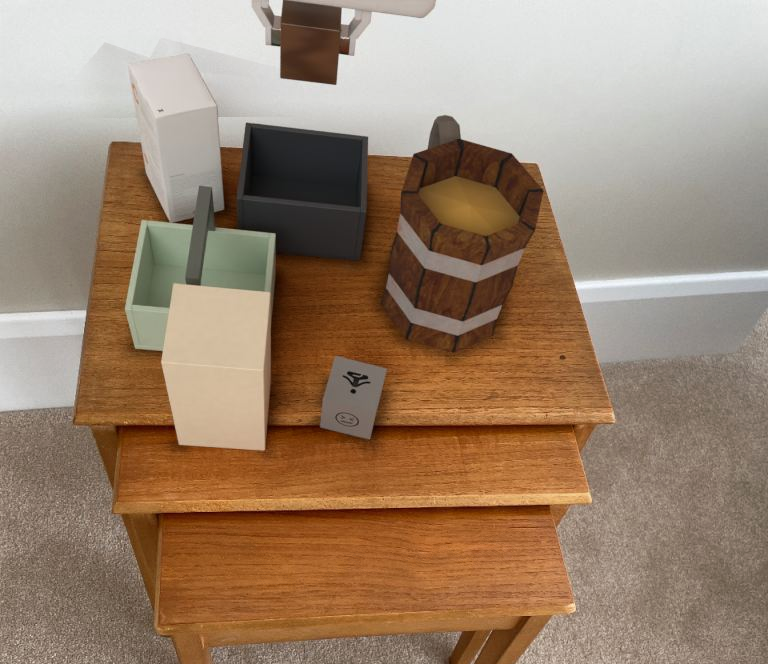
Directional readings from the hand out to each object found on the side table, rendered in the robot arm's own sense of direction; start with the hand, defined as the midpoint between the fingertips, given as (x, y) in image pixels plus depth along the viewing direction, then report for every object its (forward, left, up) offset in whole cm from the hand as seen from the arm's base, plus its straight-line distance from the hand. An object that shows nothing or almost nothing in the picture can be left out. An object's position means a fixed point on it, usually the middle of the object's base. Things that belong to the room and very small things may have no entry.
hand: (310, 46), depth 69 cm
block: (0, 0, -2) cm, 2 cm away
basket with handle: (-9, -14, -20) cm, 26 cm away
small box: (-13, +2, -20) cm, 24 cm away
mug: (+15, -7, -20) cm, 26 cm away
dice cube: (+6, -25, -20) cm, 33 cm away
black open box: (0, 0, -20) cm, 20 cm away
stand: (-6, -26, -20) cm, 33 cm away
